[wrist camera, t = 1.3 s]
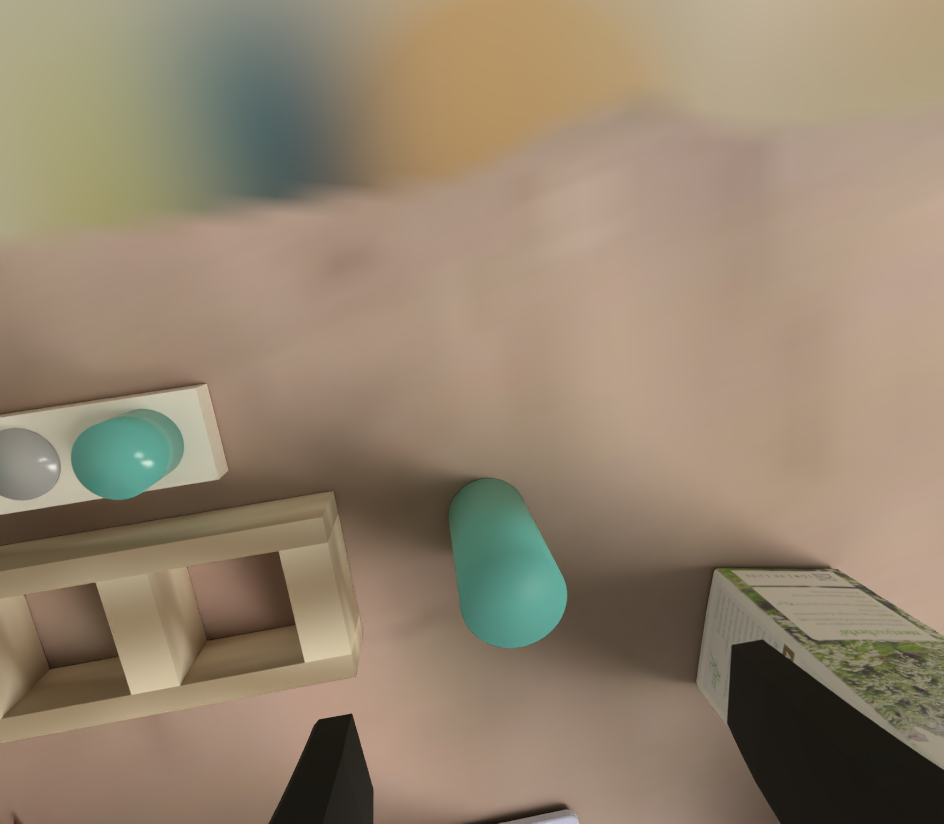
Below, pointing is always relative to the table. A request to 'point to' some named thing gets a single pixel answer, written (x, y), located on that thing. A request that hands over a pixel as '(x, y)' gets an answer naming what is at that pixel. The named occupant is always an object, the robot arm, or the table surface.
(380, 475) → the table surface
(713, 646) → the syrup box
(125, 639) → the beige compartment tray
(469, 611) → the pin
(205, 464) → the pattern tile
